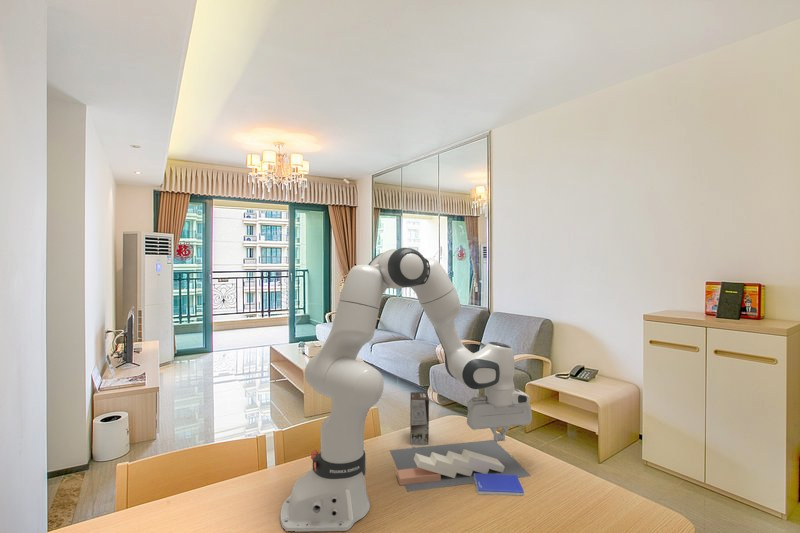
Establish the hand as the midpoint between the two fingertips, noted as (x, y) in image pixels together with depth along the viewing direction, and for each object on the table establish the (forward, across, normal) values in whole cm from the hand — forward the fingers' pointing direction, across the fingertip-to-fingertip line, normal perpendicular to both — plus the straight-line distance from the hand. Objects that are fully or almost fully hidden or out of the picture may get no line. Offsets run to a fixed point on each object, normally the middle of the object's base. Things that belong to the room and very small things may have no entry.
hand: (499, 440), depth 124 cm
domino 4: (+8, 0, 0) cm, 8 cm away
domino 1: (+8, -15, 0) cm, 17 cm away
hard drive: (+9, -5, -9) cm, 14 cm away
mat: (+9, -12, +6) cm, 16 cm away
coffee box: (+9, -18, +25) cm, 32 cm away
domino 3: (+8, -5, 0) cm, 9 cm away
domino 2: (+8, -10, 0) cm, 13 cm away
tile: (+8, -20, 0) cm, 21 cm away
